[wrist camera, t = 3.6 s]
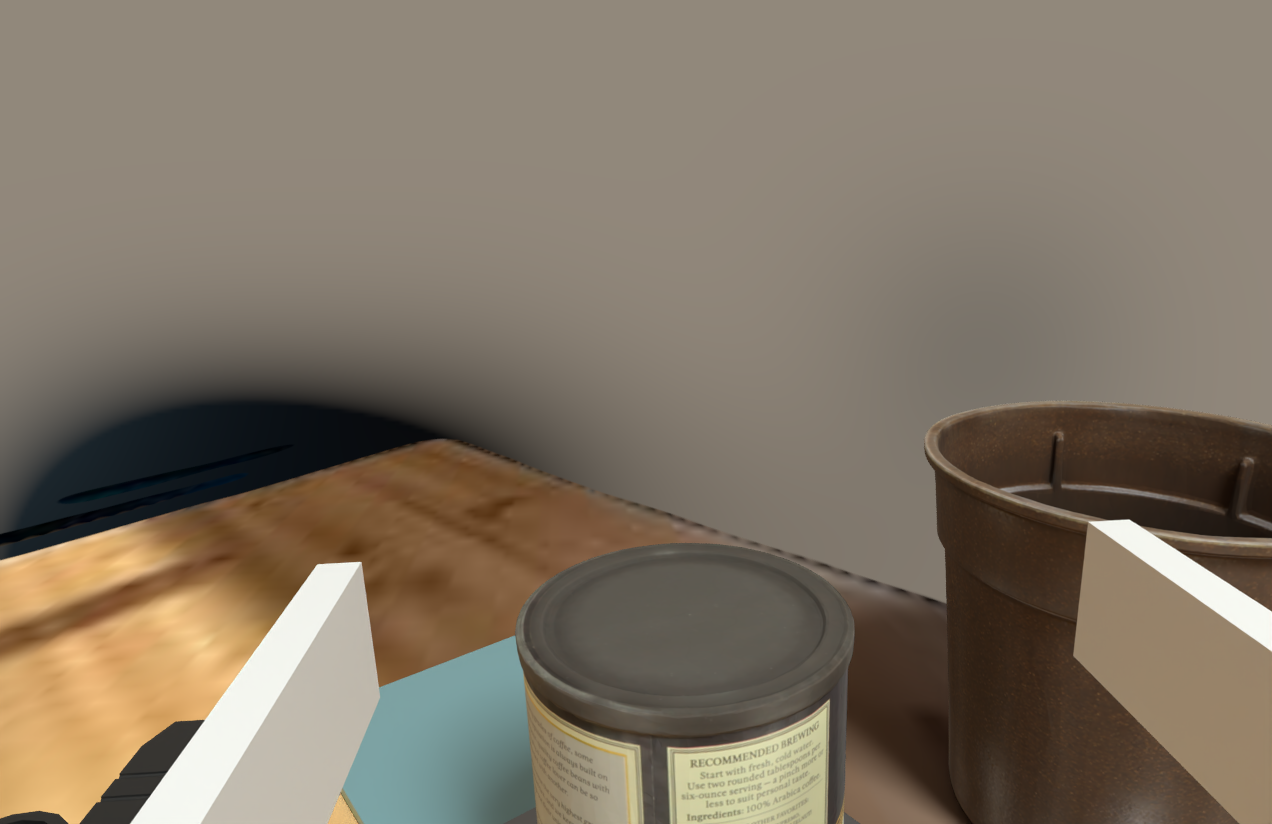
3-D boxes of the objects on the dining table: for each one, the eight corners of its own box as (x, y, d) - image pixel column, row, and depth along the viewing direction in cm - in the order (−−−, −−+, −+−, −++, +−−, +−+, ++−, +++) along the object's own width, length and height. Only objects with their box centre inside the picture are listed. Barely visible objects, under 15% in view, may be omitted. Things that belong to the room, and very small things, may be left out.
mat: (405, 902, 33) (403, 890, 33) (302, 727, 44) (300, 717, 44) (682, 753, 41) (682, 742, 41) (537, 636, 52) (536, 627, 52)
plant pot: (1204, 699, 44) (1256, 396, 39) (1460, 991, 28) (1591, 545, 24) (879, 688, 46) (893, 398, 41) (951, 955, 30) (985, 537, 26)
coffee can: (676, 816, 37) (667, 517, 33) (896, 956, 30) (917, 598, 26) (485, 978, 30) (445, 620, 26) (716, 1209, 23) (709, 769, 19)
